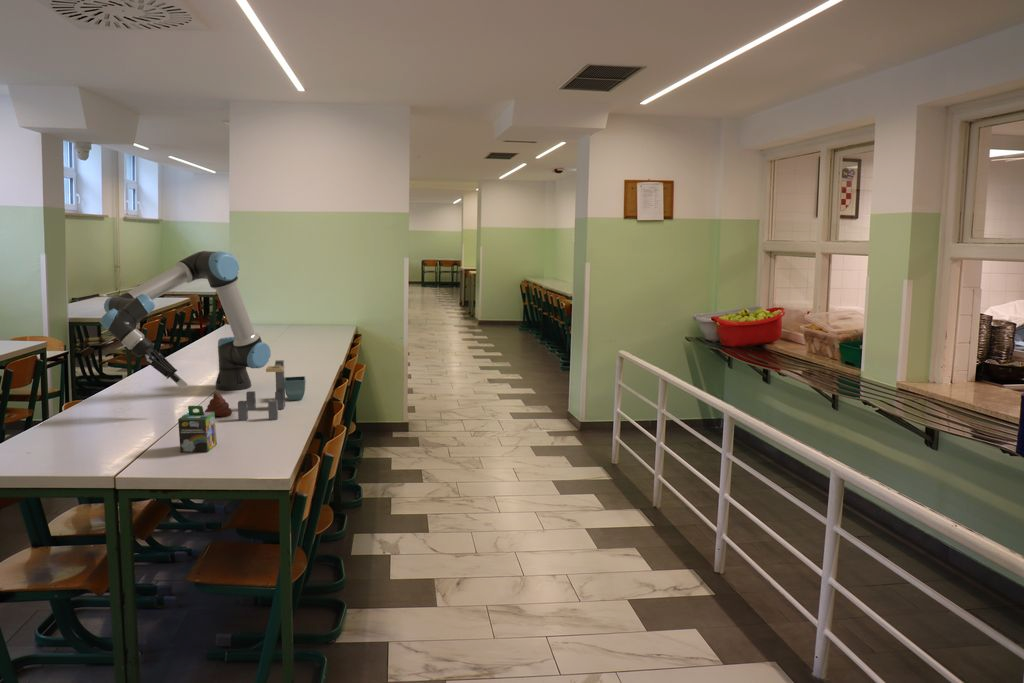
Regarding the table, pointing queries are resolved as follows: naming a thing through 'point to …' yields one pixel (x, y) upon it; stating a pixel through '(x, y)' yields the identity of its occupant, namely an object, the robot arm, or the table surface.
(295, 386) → the flower pot
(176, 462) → the table surface
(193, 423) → the chalk box
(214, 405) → the poop emoji
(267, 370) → the sight ring stand
